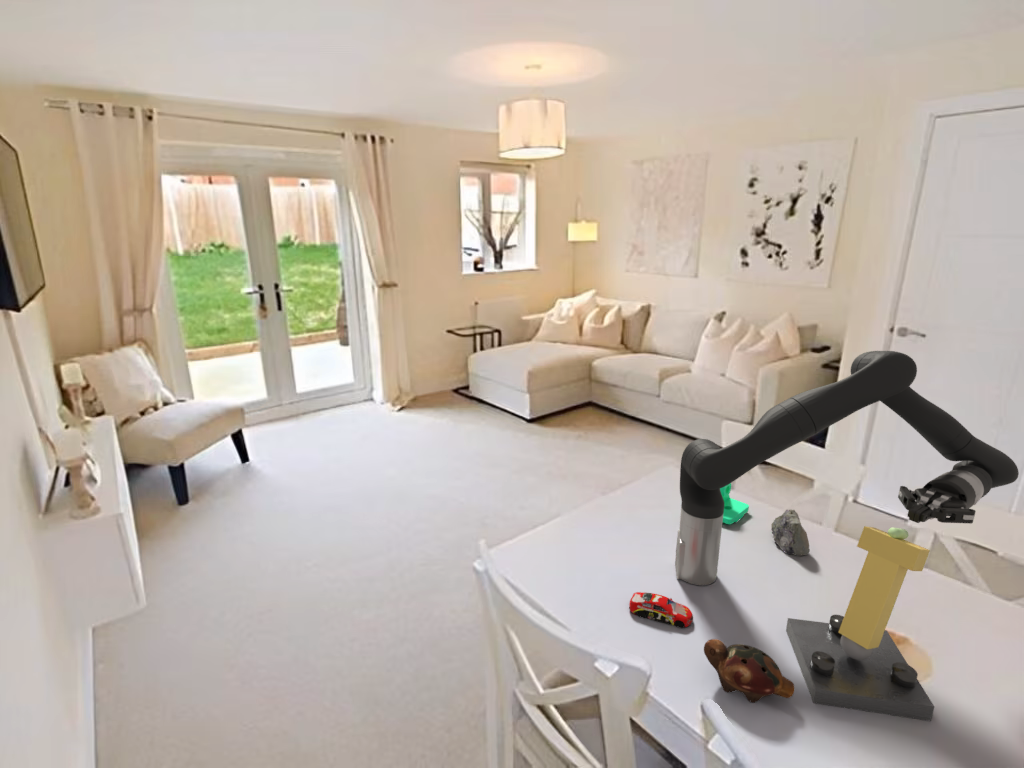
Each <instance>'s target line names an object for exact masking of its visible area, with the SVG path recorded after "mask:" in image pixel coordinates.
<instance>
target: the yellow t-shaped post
mask: <svg viewBox="0 0 1024 768" xmlns="http://www.w3.org/2000/svg"><path fill="white" fill-rule="evenodd" d="M908 537H909V531H908V530H907V529H904V528H900V527H890V528H889V529H887V532H886V531H885V530H881V529H879V528H876V527H871V526H866V525H865V526H864V527H863V529H862V532H861V534H860V537H859V540H858V542H857V545H856V547H857V548H860V549H862V550H864V551H867V555H866V557H865V559H864V562H863V565H862V568H861V571H860V573H859V575H858V579H857V581H856V584H855V587H854V588H853V589H854V590H853V592H852V595H851V597H850V600H849V602H848V605H847V607H846V610H845V613H844V618H843V621H842V624H841V626H840V629H839V632H838V633H840V634H842V636H841V640H840V643H841V647H842V649H843V651H844V652H845V653H846V654H847V655H848V656H849V657H851V658H853V659H855V660H865V659H867V658H869V657H870V655H871V654H872V651H873V648H877V647H879V644H880V642H881V639H882V636H883V634H884V631H885V630H886V628H887V626H888V623H889V620H890V617H891V615H892V612H893V609H894V607H895V604H896V602H897V598H898V597H899V595H900V591H901V589H902V586H903V584H904V581H905V578H906V576H907V574H908V573H907V572H908V570H909V571H910V572H911V571H912V572H923V571H924V567H925V565H926V562H927V560H928V557H929V554H930V552H931V550H930V549H929V548H928V549H927V548H925V547H922V546H921V545H918V544H916V543H914V542H911V541H908V540H907V538H908Z"/></svg>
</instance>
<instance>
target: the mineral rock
mask: <svg viewBox="0 0 1024 768" xmlns="http://www.w3.org/2000/svg"><path fill="white" fill-rule="evenodd" d="M807 533H808V532H807V531H806V530H805V529H804V527H803V525H802V522H801V519H800V517H799V514H798V512H797V511H796V510H795V509H785V511H784V512H783V513H782V514H781V515H779V516H777V517H775V519H773V522H772V523H771V534H772V538H773V541H774V542H775V543H776V544H777V545H778V546H779V548H780V549H781V551H783V552H784V553H785V554H787V555H790V554H791V555H794V556H798V557H801V556H807V555H808V554H809V553H810V551H811V550H810V543H809V541H810V540H809V537H808V534H807Z"/></svg>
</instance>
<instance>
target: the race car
mask: <svg viewBox="0 0 1024 768" xmlns="http://www.w3.org/2000/svg"><path fill="white" fill-rule="evenodd" d="M628 605H629V608H628V610H629V611H630V612H631V613H632V614H634V615H637V616H638V617H639V618H643V619H645V618H646V619H649V620H652V621H656V622H660V623H664V624H667V625H671V626H675V627H676V628H679V629H683V628H687V627H689V626H691V625H692V624H693V621H694V615H693V612H692V611H691V610H690V608H689V607H688V606H686V605H684V604H682V603H679V602H676V601H674V600H673V599H672V597H670V598H669V597H668V596H664V595H662V594H657V593H653V592H641V591H639V592H638V591H637V592H634V593H633V594H632V596H631V597H630V600H629V604H628Z"/></svg>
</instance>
